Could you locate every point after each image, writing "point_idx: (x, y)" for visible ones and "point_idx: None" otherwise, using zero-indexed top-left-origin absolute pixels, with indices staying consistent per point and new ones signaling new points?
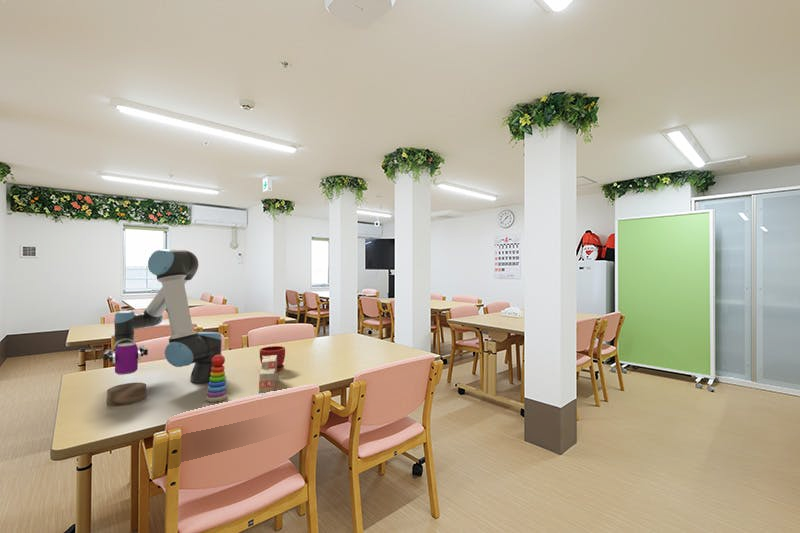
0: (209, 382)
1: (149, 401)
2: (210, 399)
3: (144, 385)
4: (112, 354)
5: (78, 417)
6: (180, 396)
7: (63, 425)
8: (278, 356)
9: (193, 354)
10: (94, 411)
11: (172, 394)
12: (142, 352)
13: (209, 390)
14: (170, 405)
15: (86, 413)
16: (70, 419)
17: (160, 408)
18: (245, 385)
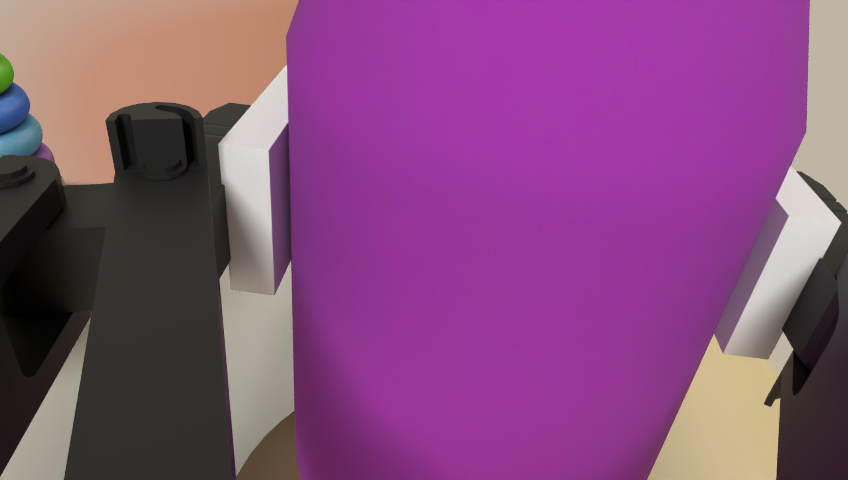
0: (12, 101)
1: (280, 414)
2: (61, 177)
3: (258, 472)
4: (841, 265)
5: (729, 426)
6: (65, 366)
7: (763, 359)
8: None
9: None
10: (655, 473)
11: (57, 453)
12: (208, 130)
13: (41, 138)
14: (223, 273)
15: (702, 469)
16: (768, 424)
17: (286, 269)
18: None
